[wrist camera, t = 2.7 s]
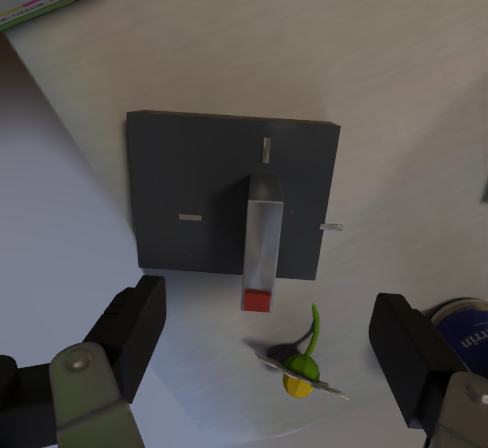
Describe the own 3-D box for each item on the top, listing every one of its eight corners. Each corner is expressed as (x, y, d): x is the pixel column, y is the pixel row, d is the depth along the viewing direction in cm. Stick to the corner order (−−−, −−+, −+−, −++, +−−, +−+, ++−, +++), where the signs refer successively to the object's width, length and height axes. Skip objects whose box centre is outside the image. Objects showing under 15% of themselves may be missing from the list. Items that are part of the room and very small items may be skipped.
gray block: (250, 173, 19) (247, 201, 14) (277, 175, 19) (284, 203, 14) (244, 262, 21) (240, 313, 16) (268, 264, 21) (271, 316, 16)
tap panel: (144, 110, 20) (124, 112, 18) (347, 122, 20) (362, 127, 17) (152, 260, 25) (138, 282, 22) (321, 272, 24) (329, 297, 21)
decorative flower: (256, 281, 17) (342, 451, 22) (321, 220, 20) (384, 380, 25) (189, 264, 23) (268, 400, 28) (247, 220, 26) (309, 348, 31)
